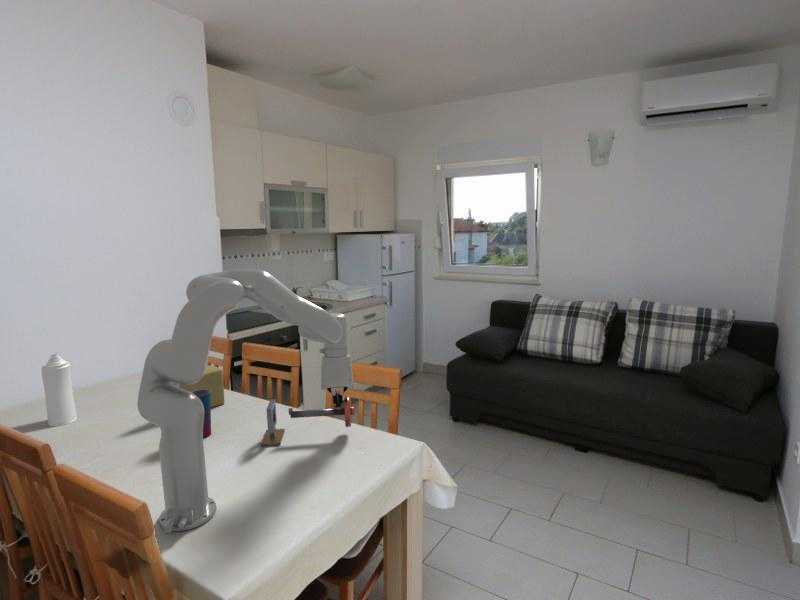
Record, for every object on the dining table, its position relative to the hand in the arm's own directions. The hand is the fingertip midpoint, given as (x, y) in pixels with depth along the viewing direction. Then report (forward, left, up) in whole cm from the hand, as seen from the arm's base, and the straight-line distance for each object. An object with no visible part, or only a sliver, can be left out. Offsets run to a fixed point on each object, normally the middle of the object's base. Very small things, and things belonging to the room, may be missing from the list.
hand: (338, 405), depth 153 cm
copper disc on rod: (0, +5, -7) cm, 9 cm away
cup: (+6, +46, -10) cm, 47 cm away
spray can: (+27, +102, -10) cm, 106 cm away
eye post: (0, +22, -10) cm, 24 cm away
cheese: (+28, +56, -10) cm, 64 cm away
